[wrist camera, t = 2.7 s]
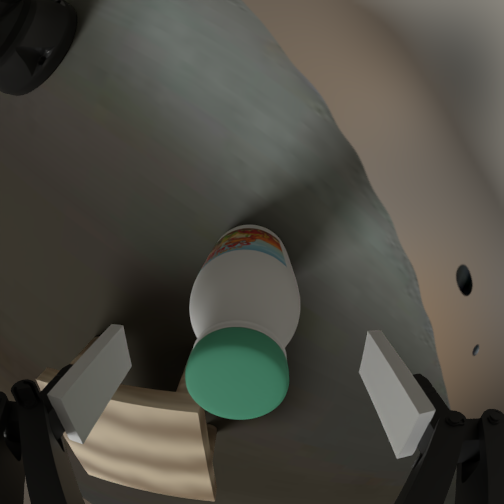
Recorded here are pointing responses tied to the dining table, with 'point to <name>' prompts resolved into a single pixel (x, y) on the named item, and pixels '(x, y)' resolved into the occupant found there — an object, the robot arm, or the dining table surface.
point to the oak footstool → (149, 441)
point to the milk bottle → (242, 325)
